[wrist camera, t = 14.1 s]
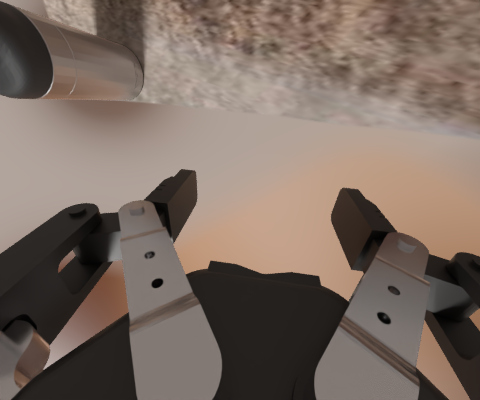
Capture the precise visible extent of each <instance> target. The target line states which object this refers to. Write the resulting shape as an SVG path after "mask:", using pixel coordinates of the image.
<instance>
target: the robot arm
mask: <svg viewBox="0 0 480 400" xmlns="http://www.w3.org/2000/svg"><path fill="white" fill-rule="evenodd" d="M142 85H143V72H142V68H141V65H140V63H139V61H138V59H137V58H136V56H135V55H134V54H133V53H132V51H131V50H129V49H128V48H127V47H125V46H123V45H120V44H117V43H115V42H112V41H109V40H107V39H104V38H101V37H99V36H96V35H93V34H90V33H87V32H85V31H82V30H79V29H76V28H74V27H71V26H68V25H65V24H63V23H60V22H57V21H54V20H52V19H49V18H46V17H43V16H40V15H37V14H34V13H31V12H29V11H26V10H23V9H21V8H18V7H15V6H12V5H9V4H7V3H4V2H1V1H0V95H3V96H6V97H10V98H18V99H81V100H82V99H83V100H132V99H134V98H135V97H137V96H138V94H139V93H140V91H141V89H142ZM196 202H197V180H196V172H195V171H193V170H184V169H181V170H180V171H179V172H178V173H177V174H176V175H175V176H174V177H170V178H167V179H165V180H164V181H163V182H162V183H161V184H159V186H158V187H156V189H155V190H154V191H152V192H151V193H150V195H149V196H147V197H146V199H144V200H143V201H141V200H140V201H133V202H130V203H127V204H126V205H124V206H122V207H121V208H120V209H119V211H118V212H117V213H103V214H100V212H99V209H98V207H97V206H96V205H95V204H90V203H83V204H77V205H73V206H70V207H68V208H65V209H64V210H62V211H60V212H59V213H58V214H56V215H55V216H53V217H52V218H50V219H49V220H48V221H46V222H45V223H44V224H42V225H41V226H39V227H38V228H36V229H35V230H34V231H32V232H31V233H30V234H28V235H26V236H25V237H24V238H22V239H21V240H19V241H18V242H17V243H15V244H14V245H12V246H11V247H9V248H8V249H7V250H5V251H4V252H2V253H1V254H0V400H449V399H448V398H447V397H446V396H445V395H444V394H443V393H441V391H439V390H438V389H437V388H436V387H435V386H434V385H433V384H432V383H431V382H430V381H429V380H428V379H427V378H426V377H425V376H424V375H423V374H422V373H421V372H420V371H419V370H418V369H417V368H416V363H417V357H418V352H419V346H420V341H421V334H422V329H423V324H424V320H425V321H426V323H427V325H428V327H429V328H430V330H431V332H432V334H433V335H434V337H435V339H436V341H437V342H438V344H439V346H440V347H441V349H442V351H443V353H444V354H445V356H446V358H447V360H448V361H449V363H450V365H451V367H452V368H453V370H454V372H455V373H456V375H457V377H458V379H459V381H460V382H461V384H462V386H463V387H464V389H465V391H466V393H467V394H468V396H469V398H470V400H480V331H479V330H478V328H477V327H476V326H475V325H474V323H473V322H472V321H471V319H470V318H469V316H470V315H472V314H473V313H474V312H475V311H476V310H478V309H479V308H480V257H479V256H476V255H473V254H470V253H463V252H460V253H457V254H456V255H455V256H454V257H453V258H452V259H451V260H450V261H449V260H446V259H443V258H440V257H437V256H434V255H430V254H429V251H428V249H427V248H426V246H425V245H424V244H423V243H421V242H420V241H418V240H417V239H415V238H413V237H411V236H409V235H406V234H403V233H398V232H397V231H396V230H395V229H394V227H393V226H392V225H391V223H390V222H389V221H388V220H387V219H386V218H385V216H384V215H383V214H382V213H381V211H380V210H379V209H378V208H377V206H376V205H374V204H373V203H372V202H370V201H369V200H367V199H365V197H364V196H363V195H362V194H361V192H360V191H359V190H358V189H350V188H342V189H341V190H340V192H339V195H338V197H337V200H336V203H335V206H334V208H333V211H332V214H331V221H332V224H333V227H334V229H335V232H336V234H337V236H338V239H339V241H340V244H341V246H342V248H343V251H344V253H345V255H346V258H347V260H348V263H349V265H350V267H351V270H357V271H363V273H364V275H363V276H362V278H361V280H360V281H359V283H358V285H357V287H356V289H355V291H354V293H353V294H352V296H351V298H350V299H349V301H347V300H346V299H344V298H343V297H341V296H340V295H339V294H337V293H335V292H333V291H332V290H330V289H328V288H326V287H323V286H321V283H320V279H319V276H313V275H307V274H300V273H293V272H288V273H275V274H261V273H258V272H256V271H253V270H250V269H248V268H245V267H242V266H240V265H237V264H231V263H223V262H217V261H210V264H209V267H208V269H203V270H197V271H194V272H191V273H188V274H186V275H185V272H184V270H183V267H182V265H181V263H180V261H179V258H178V256H177V253H176V251H175V248H174V246H173V243H174V242H175V240H176V238H177V237H178V235H179V233H180V232H181V230H182V228H183V226H184V224H185V223H186V221H187V219H188V217H189V216H190V214H191V212H192V210H193V209H194V207H195V205H196ZM72 250H73V251H74V253H75V255H76V256H75V257H74V258H73V259H72V260H71V261H70V262H69V263H68V264H67V265H66V266H65V267H64V268H63V269H62V270H61V272H59V273H58V267H59V264H60V262H61V260H62V259H63V258H64V257H65V256H66V255H67V254H68V253H69V252H70V251H72ZM117 260H122V263H123V271H124V278H125V286H126V294H127V301H128V309H129V312H128V313H127V314H125V315H124V316H122V317H121V318H119V319H118V320H116V321H115V322H114V323H112V324H110V325H109V326H108V327H106V328H105V329H103V330H102V331H100V332H99V333H97V334H96V335H95V336H93V337H91V338H90V339H89V340H87V341H86V342H84V343H83V344H81V345H80V346H78V347H77V348H75V349H74V350H72V351H71V352H69V353H68V354H67V355H65V356H64V357H62V358H61V359H59V360H58V361H56V362H55V363H53V364H52V365H50V366H49V367H47V368H46V369H45V370H43V368H44V367H45V365H46V363H47V361H48V359H49V355H50V344H51V343H52V342H53V340H54V339H55V338H56V337H57V335H58V334H59V333H60V331H61V330H62V329H63V327H64V326H65V325H66V323H67V322H68V321H69V319H70V318H71V317H72V315H73V314H74V313H75V311H76V310H77V309H78V307H79V306H80V305H81V303H82V302H83V301H84V299H85V298H86V297H87V295H88V294H89V293H90V292H91V290H92V289H93V288H94V286H95V285H96V284H97V282H98V281H99V279H100V278H101V277H102V275H103V274H104V273H105V272H106V270H107V269H108V268H109V266H110V265H111V264H112V262H113V261H117Z"/></svg>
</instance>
